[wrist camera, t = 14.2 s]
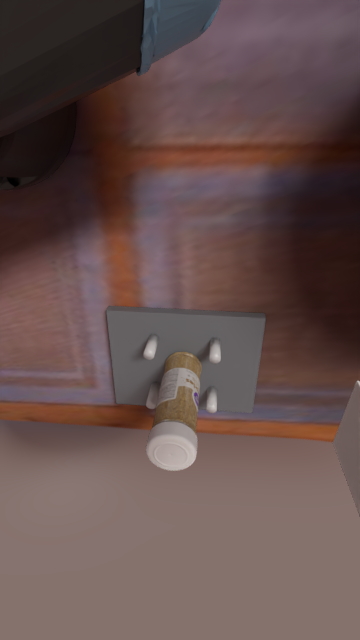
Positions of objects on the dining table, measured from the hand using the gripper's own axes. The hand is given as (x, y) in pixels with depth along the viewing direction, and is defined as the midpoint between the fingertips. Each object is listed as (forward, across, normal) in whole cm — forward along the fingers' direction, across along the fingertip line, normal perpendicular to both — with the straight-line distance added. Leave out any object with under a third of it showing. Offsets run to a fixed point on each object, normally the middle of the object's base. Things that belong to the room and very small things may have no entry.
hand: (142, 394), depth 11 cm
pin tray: (+26, 0, -18) cm, 32 cm away
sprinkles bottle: (+26, 0, -18) cm, 31 cm away
